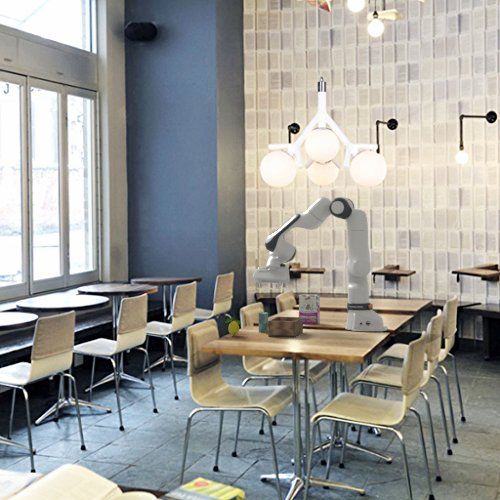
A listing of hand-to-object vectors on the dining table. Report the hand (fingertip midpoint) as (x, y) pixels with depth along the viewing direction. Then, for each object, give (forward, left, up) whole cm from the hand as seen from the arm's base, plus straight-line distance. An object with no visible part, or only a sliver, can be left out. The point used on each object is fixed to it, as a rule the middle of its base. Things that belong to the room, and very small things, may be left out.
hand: (268, 287), depth 432 cm
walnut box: (-14, +18, -22) cm, 32 cm away
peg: (0, +11, -22) cm, 25 cm away
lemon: (+11, +28, -23) cm, 38 cm away
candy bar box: (-17, -24, -23) cm, 37 cm away
